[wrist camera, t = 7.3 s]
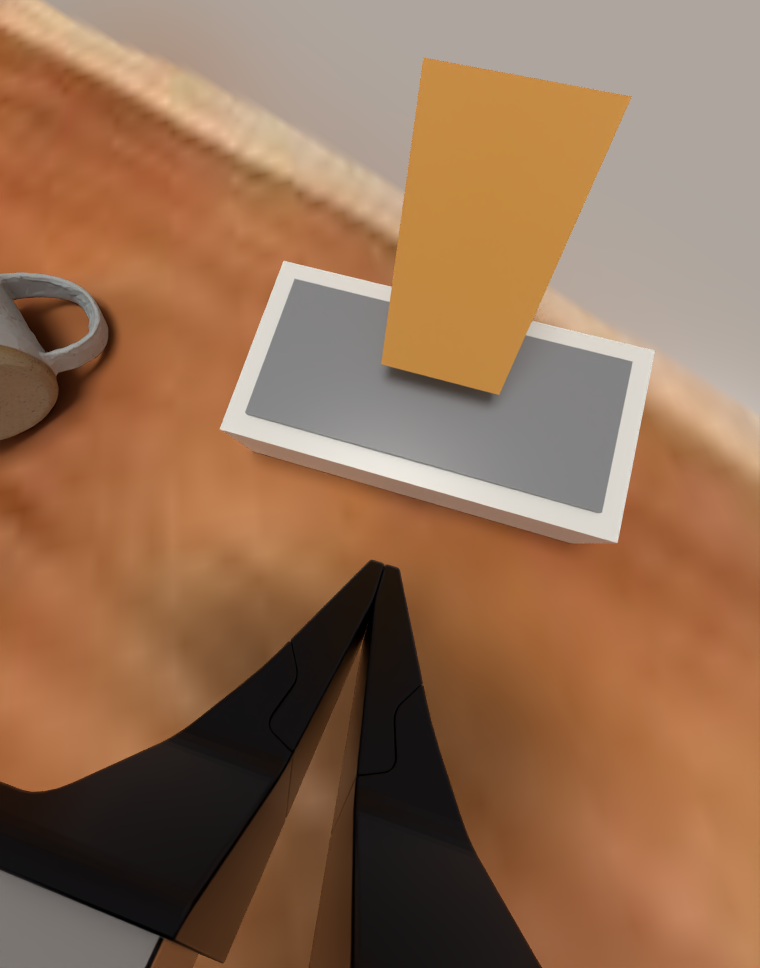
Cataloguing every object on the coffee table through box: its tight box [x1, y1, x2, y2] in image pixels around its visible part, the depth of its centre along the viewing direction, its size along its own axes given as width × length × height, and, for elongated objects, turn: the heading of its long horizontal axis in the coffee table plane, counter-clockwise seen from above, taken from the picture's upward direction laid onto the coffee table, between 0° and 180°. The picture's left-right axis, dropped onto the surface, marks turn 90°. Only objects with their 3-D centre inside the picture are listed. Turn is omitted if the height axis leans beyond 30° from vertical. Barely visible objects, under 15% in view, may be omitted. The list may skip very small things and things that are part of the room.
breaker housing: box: [220, 261, 655, 544], centre depth 19 cm, size 9×18×4 cm, turn 73°
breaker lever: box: [381, 58, 631, 395], centre depth 12 cm, size 2×5×8 cm
